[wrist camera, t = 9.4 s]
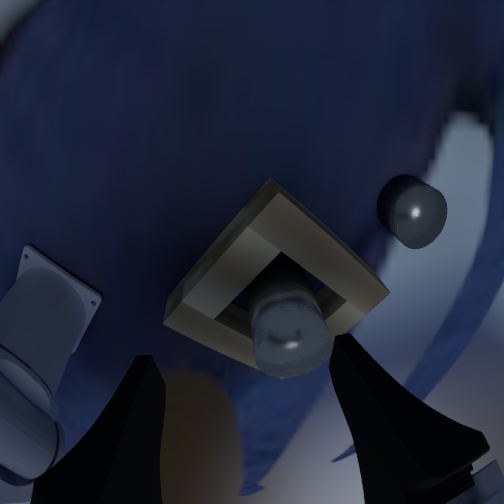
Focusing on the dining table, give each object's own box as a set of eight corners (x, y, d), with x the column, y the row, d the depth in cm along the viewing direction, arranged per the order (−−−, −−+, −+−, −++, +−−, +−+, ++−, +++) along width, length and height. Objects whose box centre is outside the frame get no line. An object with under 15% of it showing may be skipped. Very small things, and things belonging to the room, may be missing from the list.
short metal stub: (396, 240, 21) (415, 260, 18) (365, 205, 19) (385, 222, 16) (432, 201, 19) (454, 216, 17) (405, 161, 17) (430, 173, 15)
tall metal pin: (277, 314, 23) (293, 384, 17) (233, 288, 21) (238, 362, 15) (317, 276, 21) (348, 344, 15) (273, 245, 20) (296, 314, 14)
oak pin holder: (277, 354, 25) (283, 379, 23) (168, 296, 21) (162, 323, 18) (373, 270, 22) (390, 292, 19) (270, 177, 17) (278, 192, 15)
